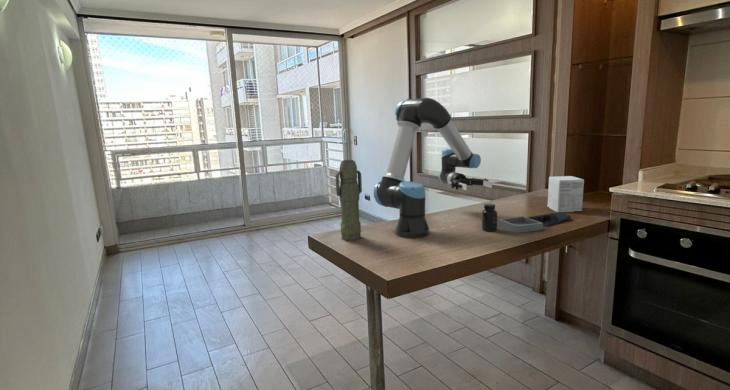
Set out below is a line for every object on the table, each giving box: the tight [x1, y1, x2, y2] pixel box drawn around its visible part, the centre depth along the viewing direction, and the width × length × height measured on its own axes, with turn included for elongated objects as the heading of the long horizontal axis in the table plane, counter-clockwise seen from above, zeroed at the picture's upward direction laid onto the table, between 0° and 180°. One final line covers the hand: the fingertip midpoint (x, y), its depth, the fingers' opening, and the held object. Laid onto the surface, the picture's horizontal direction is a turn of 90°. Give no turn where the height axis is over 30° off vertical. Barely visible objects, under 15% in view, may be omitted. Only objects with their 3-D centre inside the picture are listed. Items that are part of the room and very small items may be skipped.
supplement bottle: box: [481, 203, 498, 232], centre depth 182 cm, size 7×7×12 cm
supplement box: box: [547, 175, 585, 213], centre depth 214 cm, size 13×13×18 cm
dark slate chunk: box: [526, 212, 572, 227], centre depth 195 cm, size 15×22×5 cm
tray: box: [497, 215, 544, 234], centre depth 184 cm, size 14×14×3 cm
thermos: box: [335, 159, 363, 242], centre depth 174 cm, size 9×12×35 cm
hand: (479, 186), depth 188 cm, fingers open, 13 cm apart
